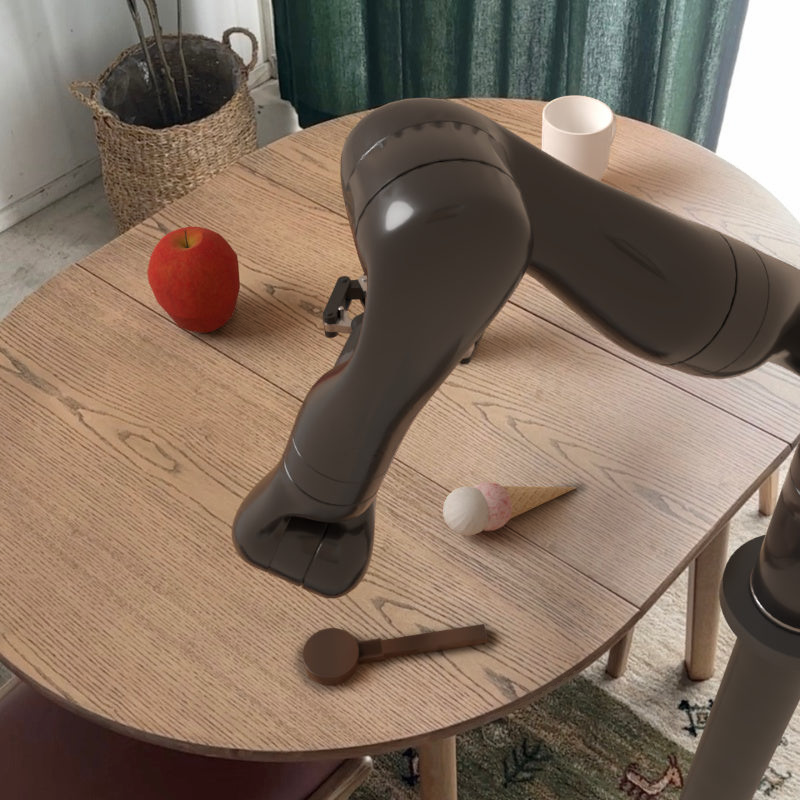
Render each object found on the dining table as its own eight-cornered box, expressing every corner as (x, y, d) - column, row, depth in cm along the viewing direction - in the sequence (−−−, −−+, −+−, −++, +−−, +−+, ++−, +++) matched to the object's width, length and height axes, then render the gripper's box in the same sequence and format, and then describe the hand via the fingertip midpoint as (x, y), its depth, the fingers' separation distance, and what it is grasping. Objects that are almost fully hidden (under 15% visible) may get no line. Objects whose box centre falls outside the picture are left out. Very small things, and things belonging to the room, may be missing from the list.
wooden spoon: (479, 612, 98) (480, 604, 97) (491, 660, 94) (491, 652, 93) (301, 640, 96) (300, 632, 95) (306, 690, 93) (305, 682, 92)
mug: (574, 221, 137) (582, 141, 128) (523, 193, 142) (528, 114, 133) (631, 183, 142) (643, 103, 134) (581, 157, 147) (588, 78, 138)
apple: (242, 287, 131) (224, 194, 121) (254, 341, 124) (236, 247, 114) (159, 303, 129) (133, 210, 119) (166, 358, 123) (139, 265, 113)
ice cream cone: (559, 472, 110) (429, 499, 104) (580, 458, 106) (447, 484, 100) (573, 515, 109) (443, 545, 103) (596, 503, 104) (462, 532, 98)
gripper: (455, 370, 85) (502, 249, 96) (290, 337, 89) (354, 224, 99) (454, 432, 91) (499, 312, 101) (299, 400, 94) (358, 286, 105)
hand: (427, 268), depth 100 cm, fingers open, 8 cm apart
